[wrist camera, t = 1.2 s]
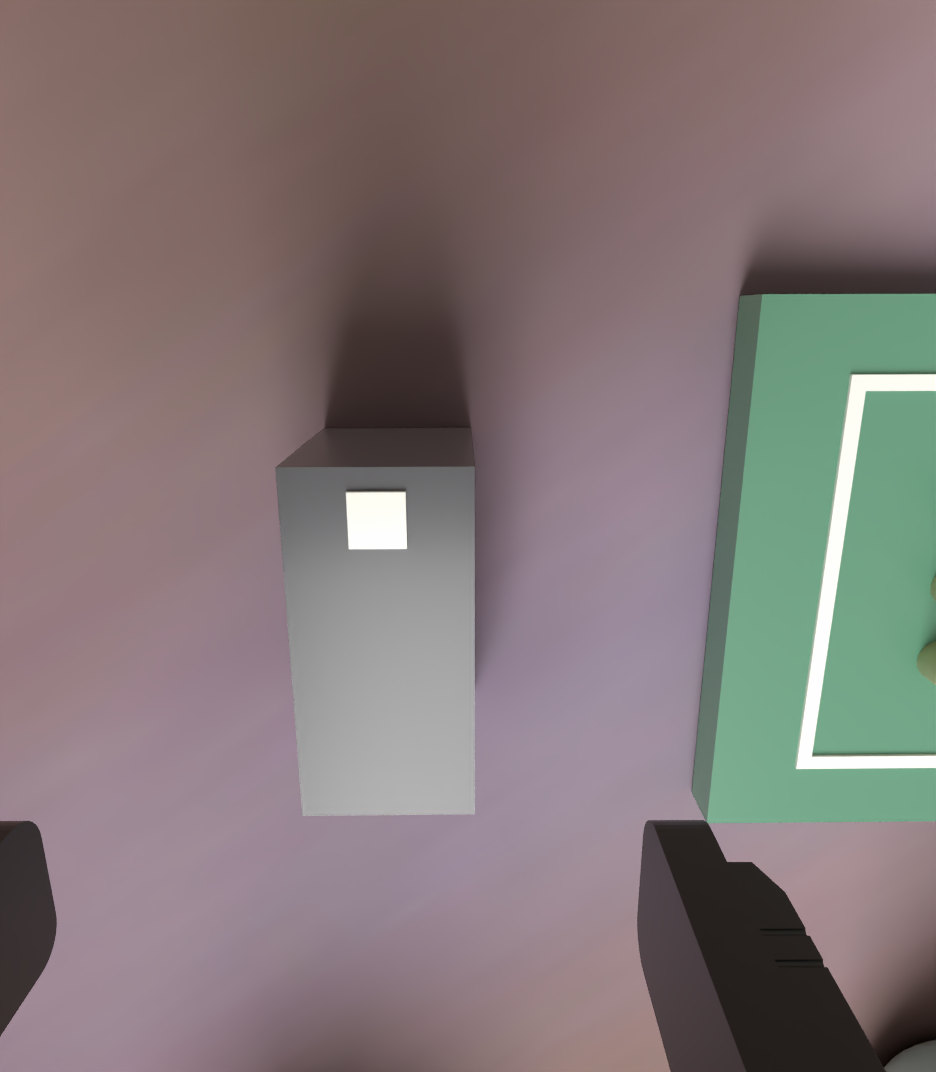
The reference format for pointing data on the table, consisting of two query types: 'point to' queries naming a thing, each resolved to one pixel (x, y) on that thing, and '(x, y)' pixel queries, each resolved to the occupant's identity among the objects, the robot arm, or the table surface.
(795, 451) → the board
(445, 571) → the block
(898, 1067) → the cup
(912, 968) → the table surface
